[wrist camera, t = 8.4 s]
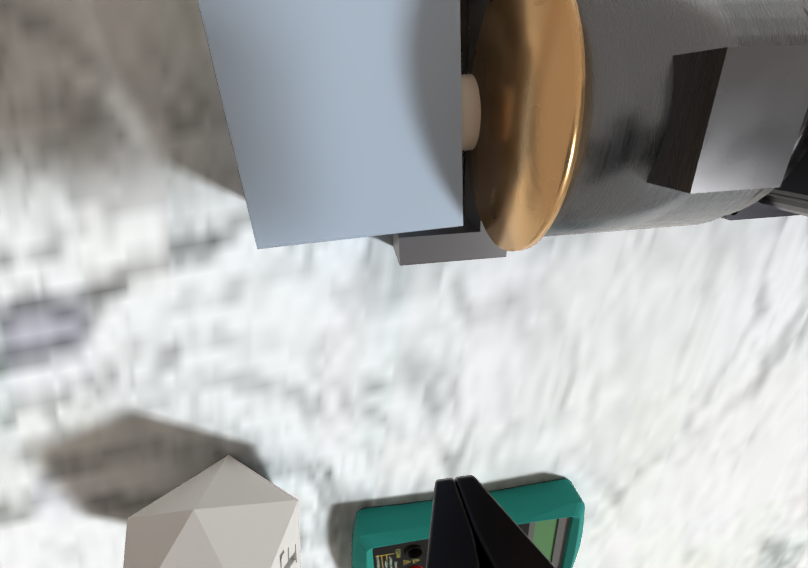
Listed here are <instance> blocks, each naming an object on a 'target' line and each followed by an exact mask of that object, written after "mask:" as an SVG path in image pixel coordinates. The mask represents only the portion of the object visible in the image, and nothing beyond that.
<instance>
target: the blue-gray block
mask: <svg viewBox="0 0 808 568" xmlns="http://www.w3.org/2000/svg"><path fill="white" fill-rule="evenodd" d="M198 4H199V8H200V12H201V16H202V20H203V25H204V29H205V33H206V37H207V41H208V45H209V50H210V54H211V58H212V62H213V66H214V70H215V75H216V79H217V83H218V87H219V91H220V95H221V99H222V104H223V108H224V112H225V116H226V120H227V124H228V129H229V133H230V137H231V141H232V145H233V149H234V154H235V158H236V162H237V166H238V170H239V174H240V179H241V183H242V187H243V191H244V195H245V199H246V204H247V208H248V212H249V216H250V220H251V224H252V228H253V233H254V237H255V241H256V245H257V249H263V248H272V247H280V246H289V245H298V244H307V243H316V242H325V241H333V240H342V239H351V238H360V237H369V236H378V235H386V234H395V233H404V232H413V231H422V230H431V229H440V228H448V227H457V226H463V179H462V151H467V150H473V149H474V148H475V146H476V144H477V141H478V137H479V132H480V123H481V103H480V94H479V88H478V84H477V81H476V79H475V77H474V76H473V75H472V74H461V32H460V0H198Z"/></svg>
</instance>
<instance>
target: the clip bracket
mask: <svg viewBox="0 0 808 568" xmlns="http://www.w3.org/2000/svg"><path fill="white" fill-rule="evenodd" d="M489 2H490V0H470V3H469V41H468V74H472V69H473V68H472V67H473V61H474V56H475V50H476V45H477V41H478V37H479V33H480V29H481V26H482V22H483V19H484V16H485V13H486V10H487V7H488V4H489ZM479 71H480V70H479ZM474 150H475V149H474ZM474 150H473V151H474ZM468 151H469V152H468ZM476 151H478V150H476ZM470 152H471V151H470V150H467V151H466V154H465V191H464V217H463V226H457V227H448V228H440V229H431V230H422V231H413V232H404V233H395V234H393V247H394V250H395V253H396V256H397V259H398V261H399V264H400V265H412V264H424V263H436V262H448V261H460V260H472V259H484V258H496V257H506V252H507V251H506V250H503V249H501V248H500V247H498V246H497V245H496V244H495V243H494V242H493V241H492V240H491V238H490V237H489V235H488V234H487V232H486V230H485V228H484V226H483V224H482V221H481V219H480V216H479V213H478V210H477V207H476V203H475V199H474V194H473V191H474V190H473V189H472V183H471V182H472V179H471V175H474V174H473V173H472V174H471V172H470V171H471V169H472V168H473V167H474V166H471V165H472V164H471V165H470V162H469V161H471V160H470V158H469V154H471V153H472V152H471V153H470ZM471 155H472V154H471ZM471 155H470V156H471ZM476 156H477V155H476ZM474 159H475V158H474ZM471 162H472V161H471ZM470 166H471V167H470ZM476 167H477V166H476ZM472 171H473V169H472ZM472 177H473V176H472ZM474 177H475V176H474ZM477 180H478V179H477ZM475 183H476V182H475ZM478 183H479V182H478ZM474 185H476V184H474ZM474 185H473V186H474ZM474 189H475V188H474ZM476 190H477V189H476ZM476 190H475V191H476ZM474 193H475V192H474Z"/></svg>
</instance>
